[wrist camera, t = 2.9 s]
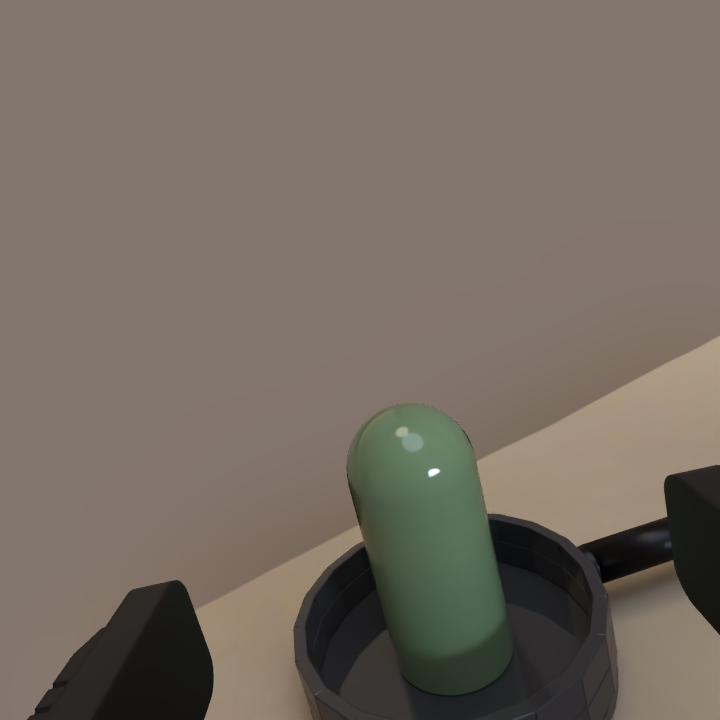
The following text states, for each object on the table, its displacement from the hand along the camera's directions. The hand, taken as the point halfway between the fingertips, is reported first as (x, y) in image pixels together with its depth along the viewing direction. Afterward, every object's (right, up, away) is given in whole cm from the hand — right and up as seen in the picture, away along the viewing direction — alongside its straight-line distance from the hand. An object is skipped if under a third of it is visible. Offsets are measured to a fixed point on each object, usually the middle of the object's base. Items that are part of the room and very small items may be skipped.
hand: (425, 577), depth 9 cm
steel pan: (+3, -9, +13) cm, 16 cm away
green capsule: (+3, -8, +13) cm, 15 cm away
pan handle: (+12, -5, +14) cm, 19 cm away
